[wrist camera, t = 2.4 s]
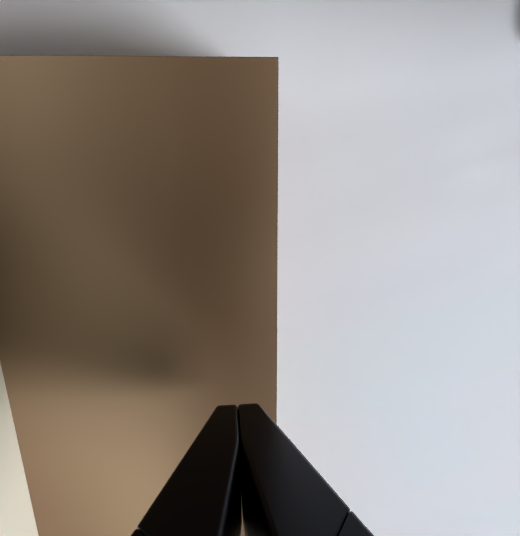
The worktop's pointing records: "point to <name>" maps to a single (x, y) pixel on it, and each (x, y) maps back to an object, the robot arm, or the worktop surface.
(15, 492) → the cream box
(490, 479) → the worktop surface
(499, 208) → the worktop surface
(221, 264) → the deck
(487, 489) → the worktop surface
